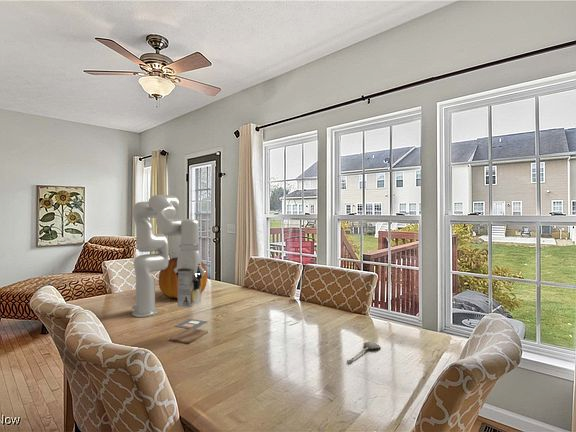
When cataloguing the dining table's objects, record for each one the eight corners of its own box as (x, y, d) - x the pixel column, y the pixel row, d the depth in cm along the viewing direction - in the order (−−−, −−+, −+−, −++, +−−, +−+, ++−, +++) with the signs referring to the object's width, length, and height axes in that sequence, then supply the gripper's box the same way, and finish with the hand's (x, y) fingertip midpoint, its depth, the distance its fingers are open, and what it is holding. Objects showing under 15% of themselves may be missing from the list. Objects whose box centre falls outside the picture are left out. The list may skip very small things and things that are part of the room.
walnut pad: (169, 340, 132) (169, 338, 132) (189, 329, 145) (189, 328, 145) (189, 344, 129) (189, 342, 129) (207, 332, 141) (207, 331, 141)
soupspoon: (383, 349, 127) (369, 346, 132) (383, 341, 127) (368, 337, 132) (356, 367, 111) (340, 362, 115) (356, 357, 111) (340, 353, 115)
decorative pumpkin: (194, 288, 225) (194, 246, 225) (215, 296, 203) (215, 250, 203) (152, 295, 205) (152, 249, 205) (170, 305, 183) (170, 254, 183)
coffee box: (188, 300, 142) (188, 265, 142) (201, 301, 141) (201, 266, 140) (177, 306, 133) (177, 269, 133) (190, 307, 132) (191, 269, 131)
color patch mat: (174, 326, 149) (174, 325, 149) (189, 319, 159) (189, 318, 159) (193, 329, 145) (193, 329, 145) (207, 321, 155) (207, 321, 155)
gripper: (167, 247, 136) (167, 288, 136) (201, 249, 130) (200, 292, 130) (179, 246, 143) (179, 284, 143) (211, 247, 137) (211, 288, 137)
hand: (189, 288), depth 137 cm, fingers closed on coffee box, 7 cm apart
